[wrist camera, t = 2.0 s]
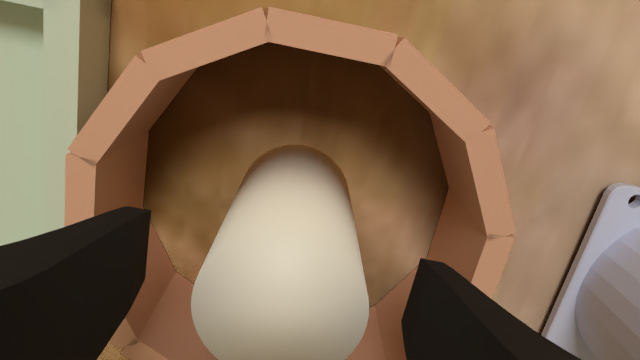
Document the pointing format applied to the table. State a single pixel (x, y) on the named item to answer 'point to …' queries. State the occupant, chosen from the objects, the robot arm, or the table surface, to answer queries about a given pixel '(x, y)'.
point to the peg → (284, 265)
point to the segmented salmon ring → (315, 35)
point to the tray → (45, 103)
